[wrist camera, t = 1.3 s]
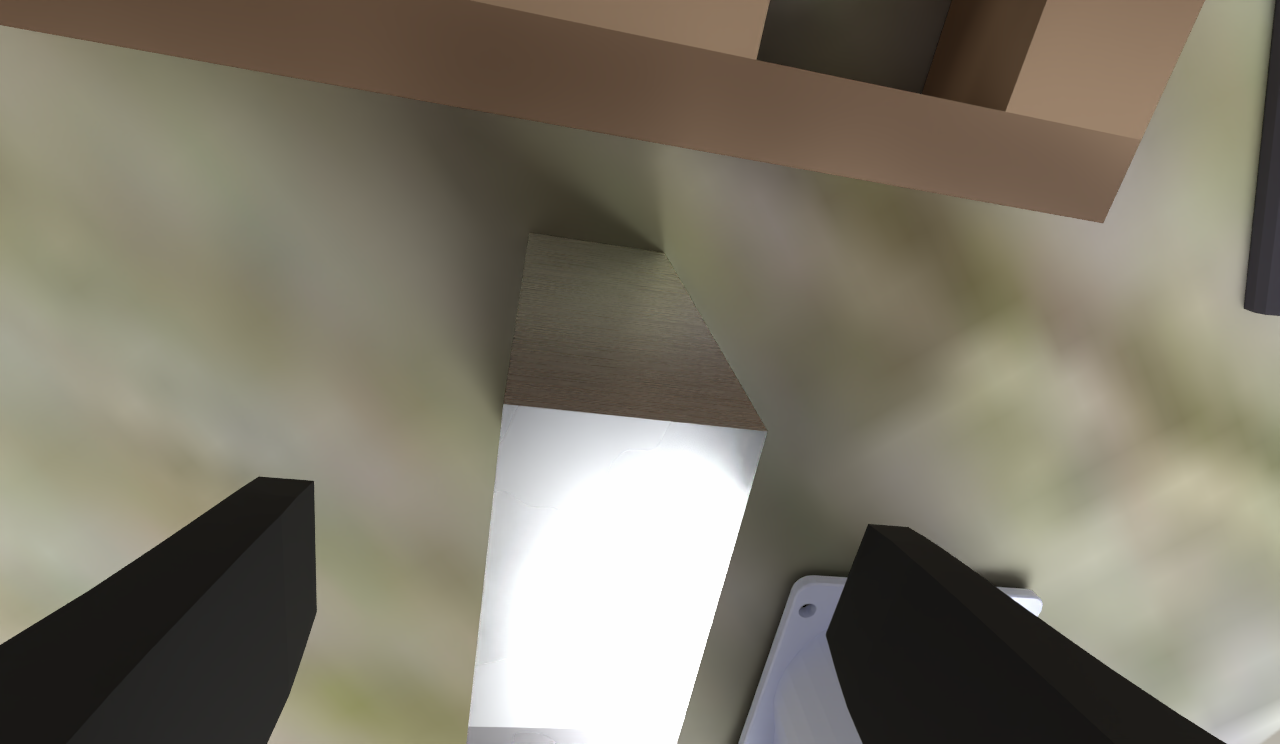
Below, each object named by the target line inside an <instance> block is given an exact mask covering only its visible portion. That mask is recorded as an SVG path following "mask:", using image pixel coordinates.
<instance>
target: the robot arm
mask: <svg viewBox="0 0 1280 744" xmlns="http://www.w3.org/2000/svg"><path fill="white" fill-rule="evenodd" d="M805 604H809V605H808V606H806V607H802V606H804V605H805ZM1042 605H1043V603H1042V600H1041V599H1040V598H1039V597H1038V596H1037V594H1036V593H1035V592H1034V591H1032V590H1029V589H1020V588H1005V587H995V586H994V585H993V584H991V583H990V582H989V581H987V580H986V579H984V578H983V577H982V576H980V575H979V574H978V573H976V572H975V571H973V570H972V569H971V568H969V567H968V566H966V565H965V564H964V563H962V562H961V561H959V560H958V559H956V558H955V557H954V556H952V555H951V554H949V553H948V552H946V551H945V550H943V549H942V548H940V547H939V546H938V545H936V544H935V543H933V542H931V541H930V540H928V539H927V538H925V537H924V536H922V535H920V534H919V533H917V532H915V531H914V530H912V529H910V528H909V527H898V526H886V525H873V524H868V526H867V529H866V531H865V534H864V537H863V539H862V542H861V544H860V547H859V549H858V552H857V555H856V557H855V560H854V562H853V565H852V568H851V570H850V573H849V575H848V577H833V576H818V575H810V576H805V577H802V578H800V579H799V580H798V581H796V582H795V584H794V585H793V587H792V589H791V592H790V595H789V598H788V601H787V604H786V607H785V609H784V612H783V615H782V618H781V621H780V624H779V627H778V630H777V633H776V635H775V638H774V641H773V644H772V647H771V650H770V653H769V656H768V659H767V661H766V664H765V667H764V670H763V673H762V676H761V679H760V682H759V685H758V688H757V690H756V693H755V696H754V699H753V702H752V705H751V708H750V711H749V714H748V716H747V719H746V722H745V725H744V728H743V731H742V734H741V737H740V740H739V743H738V744H1226V743H1224V742H1223V741H1221V740H1219V739H1218V738H1216V737H1214V736H1213V735H1211V734H1210V733H1208V732H1207V731H1205V730H1203V729H1202V728H1200V727H1199V726H1197V725H1195V724H1194V723H1192V722H1191V721H1189V720H1188V719H1186V718H1184V717H1183V716H1181V715H1180V714H1178V713H1177V712H1175V711H1174V710H1172V709H1171V708H1169V707H1168V706H1166V705H1165V704H1163V703H1162V702H1160V701H1159V700H1157V699H1156V698H1154V697H1153V696H1151V695H1150V694H1148V693H1147V692H1145V691H1144V690H1142V689H1141V688H1139V687H1138V686H1136V685H1135V684H1133V683H1132V682H1130V681H1129V680H1127V679H1126V678H1124V677H1123V676H1121V675H1120V674H1118V673H1117V672H1115V671H1114V670H1112V669H1111V668H1109V667H1108V666H1106V665H1105V664H1103V663H1102V662H1101V661H1099V660H1098V659H1096V658H1095V657H1093V656H1092V655H1090V654H1089V653H1088V652H1086V651H1085V650H1083V649H1082V648H1080V647H1079V646H1078V645H1076V644H1075V643H1073V642H1072V641H1070V640H1069V639H1068V638H1066V637H1065V636H1063V635H1062V634H1061V633H1059V632H1058V631H1056V630H1055V629H1054V628H1052V627H1051V626H1049V625H1048V624H1047V623H1045V622H1044V621H1042V620H1041V619H1040V618H1038V615H1039V613H1040V611H1041V609H1042ZM801 607H802V608H801ZM316 612H317V605H316V558H315V511H314V481H308V480H295V479H282V478H269V477H258V478H256V479H254V480H253V481H251V482H250V483H248V484H247V485H245V486H244V487H242V488H241V489H239V490H238V491H236V492H235V493H233V494H232V495H230V496H229V497H227V498H226V499H224V500H223V501H221V502H220V503H219V504H217V505H216V506H214V507H213V508H211V509H210V510H208V511H207V512H206V513H204V514H203V515H201V516H200V517H198V518H197V519H195V520H194V521H192V522H191V523H190V524H188V525H187V526H185V527H184V528H182V529H181V530H179V531H178V532H176V533H175V534H173V535H172V536H171V537H169V538H168V539H166V540H165V541H163V542H162V543H160V544H159V545H157V546H156V547H154V548H153V549H151V550H150V551H148V552H147V553H145V554H144V555H142V556H141V557H139V558H138V559H136V560H135V561H133V562H132V563H130V564H128V565H127V566H125V567H124V568H122V569H121V570H119V571H118V572H116V573H115V574H113V575H112V576H110V577H109V578H107V579H106V580H104V581H103V582H101V583H100V584H98V585H97V586H95V587H94V588H92V589H91V590H89V591H88V592H86V593H84V594H83V595H81V596H79V597H78V598H76V599H75V600H73V601H71V602H70V603H68V604H66V605H65V606H63V607H61V608H60V609H58V610H57V611H55V612H53V613H52V614H50V615H48V616H47V617H45V618H44V619H42V620H40V621H39V622H37V623H35V624H34V625H32V626H30V627H29V628H27V629H26V630H24V631H22V632H21V633H19V634H17V635H16V636H14V637H12V638H11V639H9V640H8V641H6V642H4V643H3V644H1V645H0V744H267V742H268V740H269V738H270V736H271V734H272V732H273V729H274V727H275V725H276V723H277V721H278V718H279V716H280V714H281V712H282V710H283V707H284V705H285V703H286V701H287V698H288V696H289V694H290V691H291V688H292V685H293V682H294V679H295V676H296V674H297V671H298V668H299V665H300V662H301V659H302V656H303V653H304V650H305V647H306V644H307V640H308V637H309V634H310V631H311V628H312V625H313V622H314V619H315V615H316Z"/></svg>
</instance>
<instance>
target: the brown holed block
mask: <svg viewBox="0 0 1280 744" xmlns="http://www.w3.org/2000/svg"><path fill="white" fill-rule="evenodd" d="M1204 1H1205V0H952V2H951V5H950V8H949V11H948V14H947V17H946V20H945V24H944V27H943V30H942V33H941V36H940V39H939V42H938V45H937V48H936V51H935V55H934V58H933V61H932V64H931V67H930V70H929V73H928V76H927V79H926V82H925V86H924V89H923V92H922V94H918V93H913V92H908V91H904V90H899V89H894V88H889V87H884V86H880V85H875V84H870V83H865V82H860V81H856V80H851V79H846V78H841V77H836V76H832V75H827V74H822V73H817V72H812V71H808V70H803V69H798V68H793V67H788V66H784V65H779V64H774V63H769V62H764V61H759V60H756V59H757V55H758V51H759V46H760V42H761V37H762V33H763V28H764V24H765V20H766V15H767V11H768V6H769V2H770V0H0V25H3V26H9V27H14V28H20V29H26V30H31V31H37V32H42V33H48V34H53V35H59V36H65V37H70V38H76V39H81V40H87V41H92V42H98V43H103V44H109V45H115V46H120V47H126V48H131V49H137V50H142V51H148V52H154V53H159V54H165V55H170V56H176V57H181V58H187V59H192V60H198V61H204V62H209V63H215V64H220V65H226V66H231V67H237V68H243V69H248V70H254V71H259V72H265V73H270V74H276V75H282V76H287V77H293V78H298V79H304V80H309V81H315V82H320V83H326V84H332V85H337V86H343V87H348V88H354V89H359V90H365V91H371V92H376V93H382V94H387V95H393V96H398V97H404V98H409V99H415V100H421V101H426V102H432V103H437V104H443V105H448V106H454V107H460V108H465V109H471V110H476V111H482V112H487V113H493V114H498V115H504V116H510V117H515V118H521V119H526V120H532V121H537V122H543V123H549V124H554V125H560V126H565V127H571V128H576V129H582V130H588V131H593V132H599V133H604V134H610V135H615V136H621V137H626V138H632V139H638V140H643V141H649V142H654V143H660V144H665V145H671V146H677V147H682V148H688V149H693V150H699V151H704V152H710V153H715V154H721V155H727V156H732V157H738V158H743V159H749V160H754V161H760V162H766V163H771V164H777V165H782V166H788V167H793V168H799V169H804V170H810V171H816V172H821V173H827V174H832V175H838V176H843V177H849V178H855V179H860V180H866V181H871V182H877V183H882V184H888V185H894V186H899V187H905V188H910V189H916V190H921V191H927V192H932V193H938V194H944V195H949V196H955V197H960V198H966V199H971V200H977V201H983V202H988V203H994V204H999V205H1005V206H1010V207H1016V208H1021V209H1027V210H1033V211H1038V212H1044V213H1049V214H1055V215H1060V216H1066V217H1072V218H1077V219H1083V220H1088V221H1094V222H1099V223H1103V222H1104V220H1105V218H1106V216H1107V214H1108V212H1109V209H1110V207H1111V205H1112V203H1113V201H1114V198H1115V196H1116V194H1117V192H1118V190H1119V187H1120V185H1121V183H1122V181H1123V179H1124V176H1125V174H1126V172H1127V170H1128V168H1129V166H1130V163H1131V161H1132V159H1133V157H1134V155H1135V152H1136V150H1137V148H1138V146H1139V144H1140V141H1141V139H1142V137H1143V135H1144V133H1145V130H1146V128H1147V126H1148V124H1149V122H1150V120H1151V117H1152V115H1153V113H1154V111H1155V109H1156V106H1157V104H1158V102H1159V100H1160V98H1161V95H1162V93H1163V91H1164V89H1165V87H1166V84H1167V82H1168V80H1169V78H1170V76H1171V74H1172V71H1173V69H1174V67H1175V65H1176V63H1177V60H1178V58H1179V56H1180V54H1181V52H1182V49H1183V47H1184V45H1185V43H1186V41H1187V38H1188V36H1189V34H1190V32H1191V30H1192V28H1193V25H1194V23H1195V21H1196V19H1197V17H1198V14H1199V12H1200V10H1201V8H1202V6H1203V3H1204Z"/></svg>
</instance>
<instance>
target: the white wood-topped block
mask: <svg viewBox="0 0 1280 744" xmlns="http://www.w3.org/2000/svg"><path fill="white" fill-rule="evenodd" d="M767 432H768V431H767V430H766V428H765V426H764V424H763V423H762V421H761V419H760V417H759V416H758V414H757V412H756V410H755V409H754V407H753V405H752V404H751V402H750V400H749V398H748V397H747V395H746V393H745V391H744V390H743V388H742V386H741V384H740V383H739V381H738V379H737V378H736V376H735V374H734V372H733V371H732V369H731V367H730V365H729V364H728V362H727V360H726V358H725V357H724V355H723V353H722V352H721V350H720V348H719V346H718V345H717V343H716V341H715V339H714V338H713V336H712V334H711V332H710V331H709V329H708V327H707V326H706V324H705V322H704V320H703V319H702V317H701V315H700V313H699V312H698V310H697V308H696V306H695V305H694V303H693V301H692V299H691V298H690V296H689V294H688V293H687V291H686V289H685V287H684V286H683V284H682V282H681V280H680V279H679V277H678V275H677V273H676V272H675V270H674V268H673V267H672V265H671V263H670V261H669V260H668V258H667V256H666V254H665V253H662V252H656V251H649V250H642V249H636V248H629V247H622V246H616V245H609V244H602V243H596V242H589V241H582V240H576V239H569V238H562V237H556V236H549V235H542V234H536V233H529V238H528V244H527V251H526V258H525V264H524V271H523V277H522V284H521V291H520V297H519V304H518V311H517V317H516V324H515V330H514V337H513V344H512V350H511V357H510V364H509V370H508V377H507V383H506V390H505V397H504V403H503V412H502V422H501V431H500V440H499V449H498V458H497V468H496V477H495V486H494V495H493V504H492V514H491V523H490V532H489V541H488V550H487V560H486V569H485V578H484V587H483V596H482V606H481V615H480V624H479V633H478V643H477V652H476V661H475V670H474V679H473V689H472V698H471V707H470V716H469V725H468V735H467V744H677V740H678V737H679V734H680V730H681V727H682V723H683V720H684V716H685V713H686V710H687V706H688V703H689V699H690V696H691V692H692V689H693V686H694V682H695V679H696V675H697V672H698V668H699V665H700V662H701V658H702V655H703V651H704V648H705V644H706V641H707V638H708V634H709V631H710V627H711V624H712V620H713V617H714V614H715V610H716V607H717V603H718V600H719V597H720V593H721V590H722V586H723V583H724V579H725V576H726V573H727V569H728V566H729V562H730V559H731V555H732V552H733V549H734V545H735V542H736V538H737V535H738V531H739V528H740V525H741V521H742V518H743V514H744V511H745V507H746V504H747V501H748V497H749V494H750V490H751V487H752V483H753V480H754V477H755V473H756V470H757V466H758V463H759V459H760V456H761V453H762V449H763V446H764V442H765V439H766V435H767Z"/></svg>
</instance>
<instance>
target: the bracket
mask: <svg viewBox="0 0 1280 744" xmlns="http://www.w3.org/2000/svg"><path fill="white" fill-rule="evenodd" d="M1244 309H1246V310H1249V311H1252V312H1255V313H1260V314H1265V315H1277V316H1280V0H1276V4H1275V13H1274V23H1273V33H1272V42H1271V52H1270V61H1269V71H1268V81H1267V90H1266V100H1265V110H1264V119H1263V129H1262V139H1261V148H1260V158H1259V167H1258V177H1257V187H1256V196H1255V206H1254V216H1253V225H1252V235H1251V245H1250V254H1249V264H1248V274H1247V283H1246V293H1245V302H1244Z"/></svg>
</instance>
